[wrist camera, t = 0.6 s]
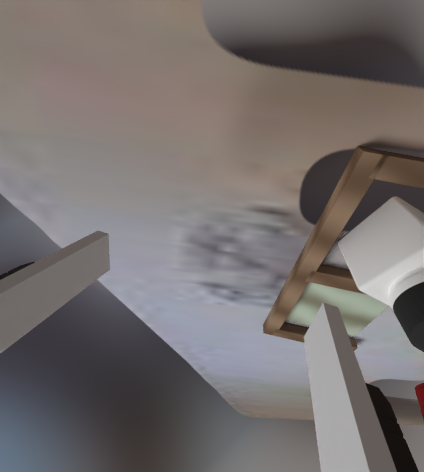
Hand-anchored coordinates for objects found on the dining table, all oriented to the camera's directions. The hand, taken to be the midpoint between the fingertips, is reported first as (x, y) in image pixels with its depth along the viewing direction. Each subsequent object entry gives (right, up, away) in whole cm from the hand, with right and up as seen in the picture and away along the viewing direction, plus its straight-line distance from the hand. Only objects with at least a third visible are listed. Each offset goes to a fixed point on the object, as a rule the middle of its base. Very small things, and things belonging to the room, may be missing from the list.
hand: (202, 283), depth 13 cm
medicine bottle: (+20, +3, +11) cm, 22 cm away
